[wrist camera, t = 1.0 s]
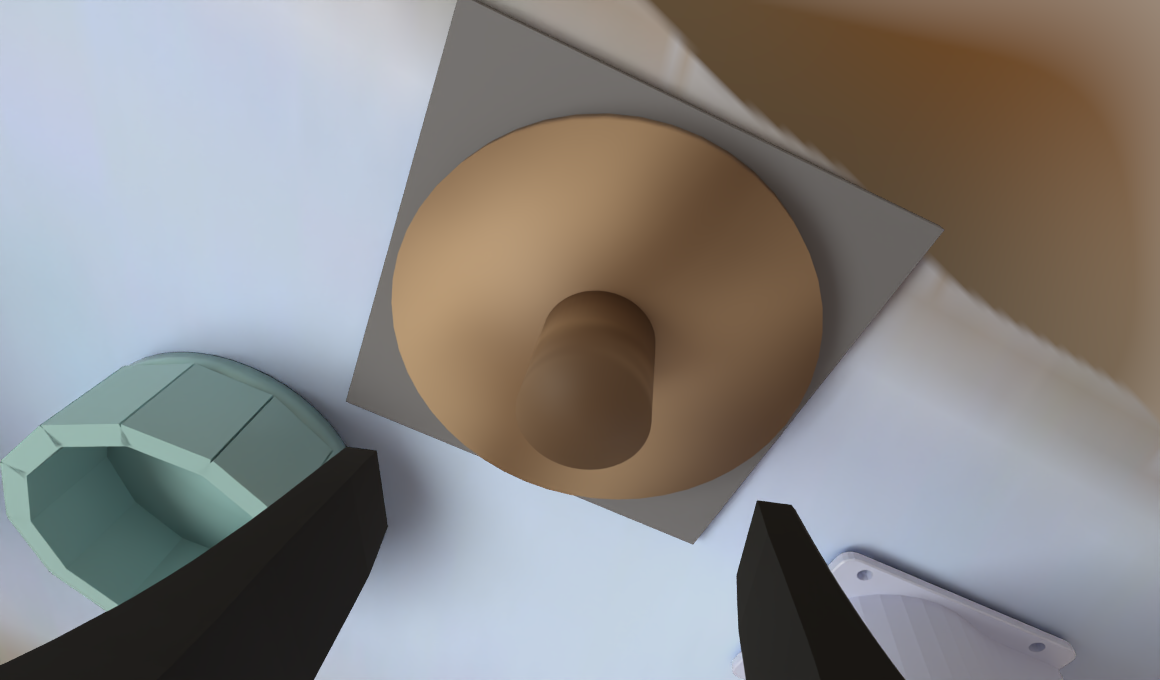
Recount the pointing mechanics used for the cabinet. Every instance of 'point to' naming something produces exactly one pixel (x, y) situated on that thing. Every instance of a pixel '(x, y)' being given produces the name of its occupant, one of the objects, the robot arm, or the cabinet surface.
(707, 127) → the mat
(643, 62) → the cabinet surface
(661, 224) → the lid
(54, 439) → the bowl
